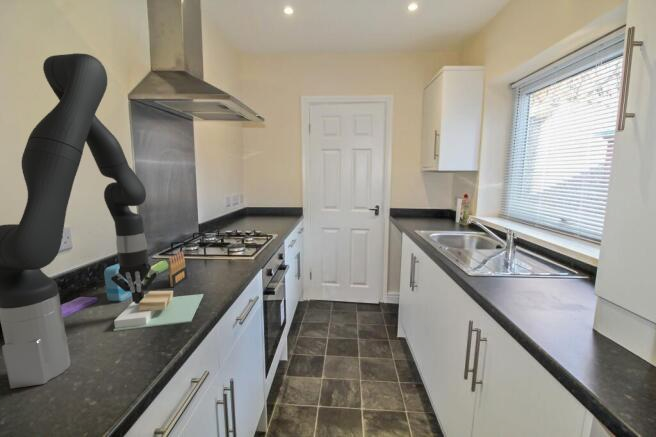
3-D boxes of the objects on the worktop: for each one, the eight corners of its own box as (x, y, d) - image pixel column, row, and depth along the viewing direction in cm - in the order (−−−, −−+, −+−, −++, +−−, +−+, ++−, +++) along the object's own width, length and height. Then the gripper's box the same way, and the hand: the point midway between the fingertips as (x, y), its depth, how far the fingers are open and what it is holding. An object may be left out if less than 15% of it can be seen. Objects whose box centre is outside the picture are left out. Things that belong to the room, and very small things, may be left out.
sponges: (98, 302, 103) (97, 297, 103) (59, 320, 91) (58, 314, 91) (81, 301, 104) (80, 296, 104) (41, 318, 92) (40, 313, 92)
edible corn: (171, 267, 139) (170, 258, 138) (147, 283, 119) (146, 272, 118) (160, 268, 139) (159, 258, 138) (134, 284, 119) (133, 273, 118)
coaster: (164, 309, 90) (164, 302, 90) (139, 310, 89) (138, 302, 88) (173, 297, 99) (173, 290, 99) (149, 298, 97) (149, 291, 97)
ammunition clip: (174, 287, 114) (170, 257, 112) (169, 287, 114) (165, 257, 112) (187, 277, 124) (184, 250, 123) (183, 277, 124) (180, 250, 123)
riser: (146, 324, 85) (145, 317, 85) (115, 328, 84) (114, 320, 83) (165, 298, 103) (165, 292, 102) (140, 301, 101) (139, 295, 101)
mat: (190, 322, 87) (190, 320, 87) (113, 331, 83) (113, 329, 83) (203, 294, 106) (203, 293, 106) (141, 301, 102) (141, 300, 102)
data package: (119, 303, 101) (115, 269, 99) (107, 302, 102) (102, 269, 100) (145, 289, 113) (141, 258, 111) (134, 289, 113) (130, 258, 112)
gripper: (100, 253, 85) (109, 310, 87) (152, 249, 88) (158, 305, 90) (113, 247, 92) (120, 300, 95) (160, 244, 95) (165, 295, 98)
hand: (139, 302), depth 93 cm, fingers closed
